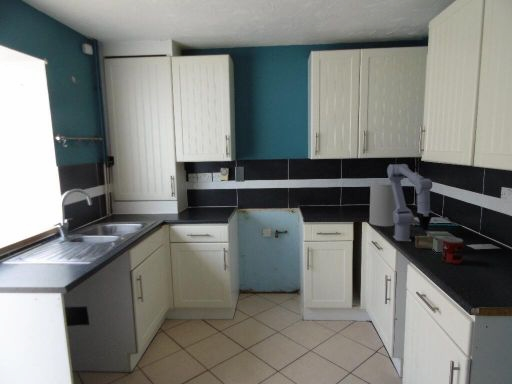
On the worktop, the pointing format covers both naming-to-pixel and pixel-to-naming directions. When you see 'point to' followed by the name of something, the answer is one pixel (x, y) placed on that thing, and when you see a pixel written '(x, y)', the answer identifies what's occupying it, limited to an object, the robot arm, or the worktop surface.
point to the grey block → (438, 239)
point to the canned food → (452, 250)
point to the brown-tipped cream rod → (423, 241)
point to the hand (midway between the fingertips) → (424, 228)
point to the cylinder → (382, 204)
